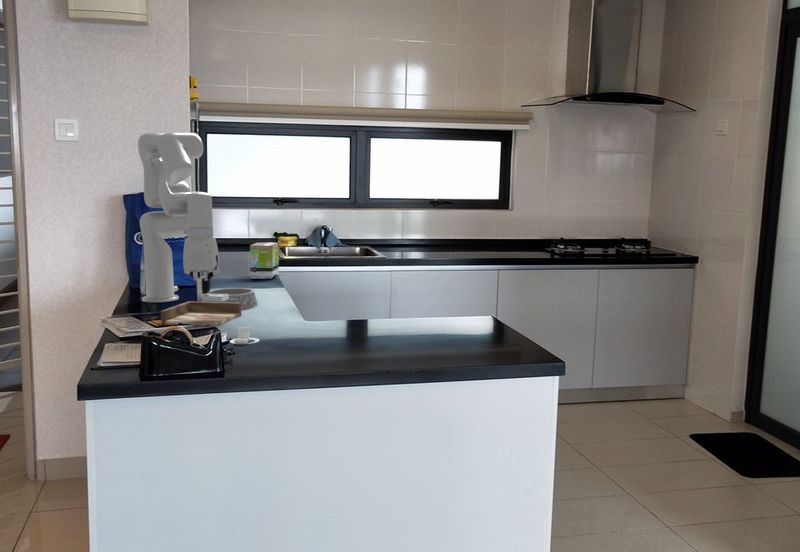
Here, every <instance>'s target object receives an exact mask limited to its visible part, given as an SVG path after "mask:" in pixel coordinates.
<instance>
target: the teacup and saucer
mask: <svg viewBox="0 0 800 552" xmlns="http://www.w3.org/2000/svg"><path fill="white" fill-rule="evenodd" d="M250 329H251V327H250V326H239V327H237V330H238V331H237V335H238V338H233V339H231V340H229V343H230V344H233V345H250V344H251V345H252V344H256V343H259V342H260V339H259V338H256V337H250V336H251V335H250ZM249 340H253V341H252V342H249Z"/></svg>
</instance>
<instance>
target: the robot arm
mask: <svg viewBox="0 0 800 552" xmlns="http://www.w3.org/2000/svg"><path fill="white" fill-rule="evenodd" d="M137 140H138V141H137V151H138V154H139V157H140V160H141V164H142V167H143V197H144V203H145V205H146V206H148V207H149V208H153V209H154V208H155V209H162V210H159V211H157V210H155V211H148V212H146V213H144V214H141V216H140V219H139V228H140V232H141V237H142V244H143V258H144V277H145V294H146V295H144V296H143V297H141V301H142V302H144V303H168V302H174V301H178V300H179V299H180V297H179V295H178V294H175V292H177V291H179V287H178V286H177V285H175V284H174V266H173V265H174V264H173V262H174V261H173V251H172V248H171V246H170V245H169V244H168V242H166V240H165V239H171V238H172V239H173V238H185V239H184V245H183V255H182V256H183V257H182V263H183V264H182V265H183V269H184V270H183V273H184V274H186V275H189V276H191V278H192V279H193V281H195V290H196V292H197V278H199V277H202V272H203V276H204V281H203V294H207V293H209V291H211V280H212V278H213V277H214V276H215V275H218V274H221V269H220V256H219V255H220V254H219V247H218V243H217V239H216V237H214V227H213V226H214V224H213V223H214V222H213V221H214V220H213V219H214V218H213V200H212V199H213V198H212V195H211V194H210V193H209V192H204V191H191V188H190V185H189V184H188V182H186V181H185V180H187V179H189V177H191V176H192V174H193V172H194V166H193V164H192V162H191V159H194V160H195V159H197V160H198V159H200V158H201V157H202V156H203V154H204V143H203V141H202V139H201V137H200V136H199V134H197V133H194V132H146V133H143V134H141V135H140V136H139V138H138V139H137Z"/></svg>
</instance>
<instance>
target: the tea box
mask: <svg viewBox="0 0 800 552" xmlns="http://www.w3.org/2000/svg"><path fill="white" fill-rule="evenodd" d="M249 253H250V254H249V255H250V257H249V258H250V259H249V263H250V265H249V267H250V269H249V271H250V273H249V274H250V276H274V274H277V275H278V276H279V275H280V272H279V267H280V266H279V262H280V259H279V242H256V243H253V244H250V246H249ZM250 276H249V277H250Z"/></svg>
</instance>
